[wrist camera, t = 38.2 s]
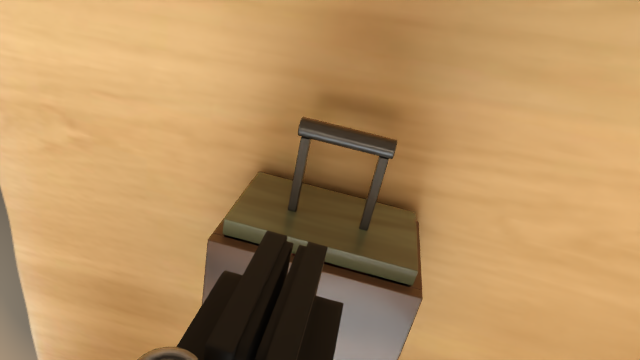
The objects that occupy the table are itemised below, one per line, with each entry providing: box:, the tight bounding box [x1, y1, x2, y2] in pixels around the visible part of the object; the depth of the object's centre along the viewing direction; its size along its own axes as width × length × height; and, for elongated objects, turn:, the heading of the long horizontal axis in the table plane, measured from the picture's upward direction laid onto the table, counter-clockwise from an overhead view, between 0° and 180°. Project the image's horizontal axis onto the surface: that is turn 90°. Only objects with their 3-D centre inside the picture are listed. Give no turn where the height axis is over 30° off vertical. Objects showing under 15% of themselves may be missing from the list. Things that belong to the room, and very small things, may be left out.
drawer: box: [223, 117, 418, 286], centre depth 32 cm, size 21×12×7 cm, turn 169°
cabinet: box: [202, 180, 422, 360], centre depth 34 cm, size 16×14×9 cm
